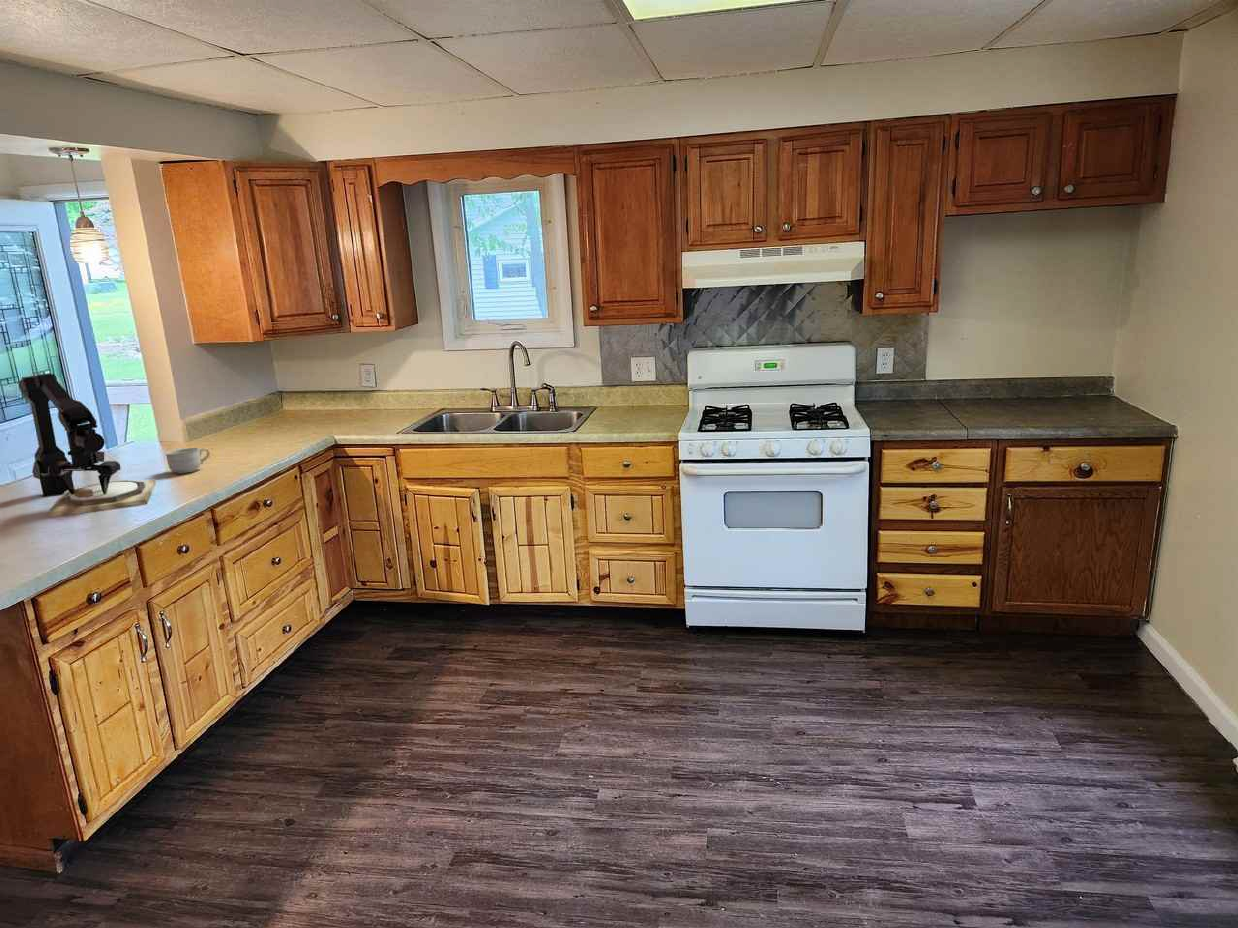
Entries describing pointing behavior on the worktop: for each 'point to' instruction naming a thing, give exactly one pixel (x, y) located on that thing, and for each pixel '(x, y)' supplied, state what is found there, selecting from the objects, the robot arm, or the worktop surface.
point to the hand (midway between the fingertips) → (89, 494)
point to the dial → (96, 492)
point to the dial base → (103, 500)
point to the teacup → (186, 459)
